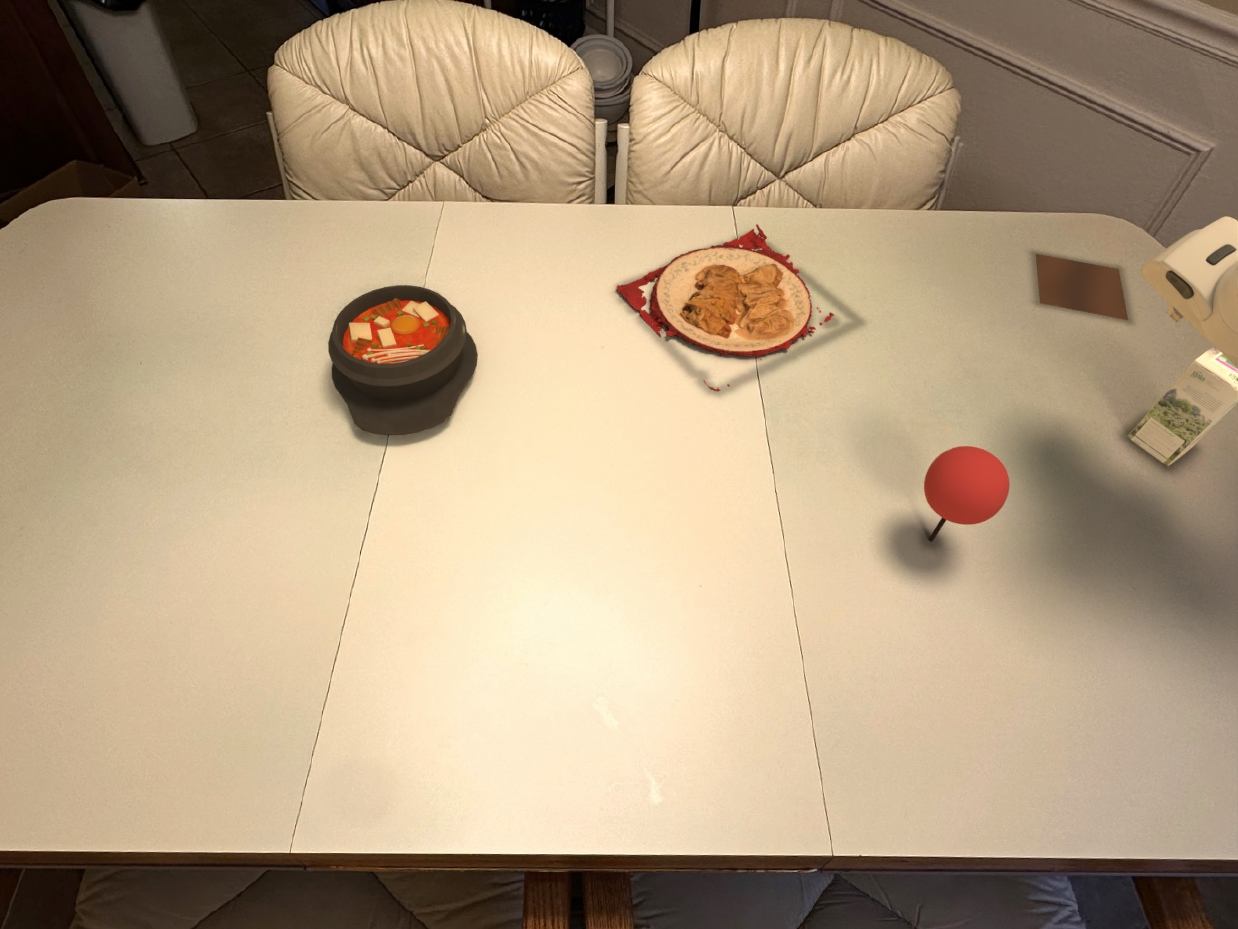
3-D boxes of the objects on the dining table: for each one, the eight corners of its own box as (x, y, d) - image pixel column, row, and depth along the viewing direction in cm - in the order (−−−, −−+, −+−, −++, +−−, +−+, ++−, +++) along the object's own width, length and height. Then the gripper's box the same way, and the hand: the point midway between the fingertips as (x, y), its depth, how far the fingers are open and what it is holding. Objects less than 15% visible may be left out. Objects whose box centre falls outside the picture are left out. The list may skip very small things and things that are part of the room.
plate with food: (614, 296, 108) (614, 277, 105) (752, 236, 116) (755, 217, 114) (713, 400, 96) (716, 382, 94) (858, 326, 105) (865, 307, 102)
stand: (1115, 274, 113) (1118, 268, 113) (1124, 325, 106) (1128, 319, 105) (1033, 258, 115) (1036, 253, 114) (1036, 308, 108) (1040, 302, 107)
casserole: (483, 437, 91) (473, 390, 85) (327, 452, 89) (305, 406, 83) (476, 303, 106) (468, 254, 99) (343, 314, 104) (325, 265, 98)
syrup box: (1189, 451, 92) (1273, 368, 81) (1162, 472, 90) (1245, 390, 79) (1147, 421, 95) (1223, 338, 84) (1120, 441, 93) (1194, 358, 81)
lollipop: (967, 530, 84) (1027, 448, 73) (954, 584, 80) (1016, 506, 68) (900, 505, 86) (948, 421, 74) (884, 556, 82) (933, 476, 70)
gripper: (1408, 373, 60) (1325, 403, 73) (1213, 202, 67) (1168, 257, 79) (1330, 421, 62) (1262, 442, 75) (1147, 249, 68) (1113, 296, 81)
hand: (1212, 346), depth 77 cm, fingers open, 8 cm apart
